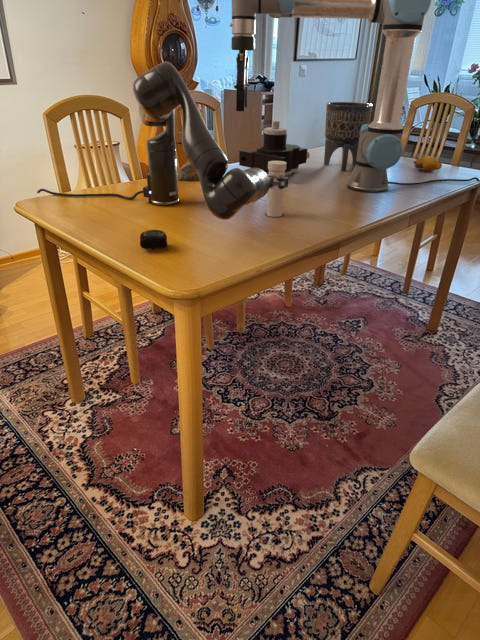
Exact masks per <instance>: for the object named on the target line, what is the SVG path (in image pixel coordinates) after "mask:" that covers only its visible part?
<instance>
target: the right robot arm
mask: <svg viewBox="0 0 480 640" xmlns="http://www.w3.org/2000/svg"><path fill="white" fill-rule="evenodd" d="M431 4H432V0H231V22H230V23H229V27H231V35H233V36H231V46H230V47H231V50H232V51H238V53H237V54H236V58H235V59H236V60H235V61H236V83H235V84H234V90H236V101H235V102H236V103H235V104H236V106H235V111H236V112H245V111H246V109H245V108H248V87H250V83H249V79H248V78H249V65H250V57H249V54H248V51H255V49H256V38H255V37H254V36H255V35H256V25H257V23H256V22H257V19H256V16H257V14H258V15H262V14H263V15H268V16H269V17H270V18H272V19H281V18H299V19H300V18H301V19H302V18H307V19H349V20H350V19H352V20H353V19H354V20H367V21H368V23H370V24H371V23H374V24H383V25H382V33H383V34H384V36H385V38H386V39H385V43H384V44H385V45H384V51H383V57H382V58H383V59H382V63H381V64H382V65H381V70H380V71H381V72H380V77H379V82H378V89H377V97H376V101H375V110H374V116H373V120H372V121H371V122H369V124H364V125H362V127H361V130H360V133H359V134H360V137H359V144H358V151H357V158H356V165H355V166H354V167H353V171H351V174H350V176H349V179H348V182H347V187H348V188H349V189H351V190H354V191H358V192H363V193H364V192H365V193H382V192H386V191H388V189H389V185H399V186H416V185H423V184H425V185H426V184H428V183H436V182H470V181H473V180H476V181H477V182H480V179H479V178H478V177H477V176H473V177H471V178H466V179H464V178H463V179H461V178H460V179H459V178H443V179H430V180H424V181H419V182H397V181H389V178H388V173H387V172H388V171H387V169H390V168H392V167H394V166H395V165H396V164H397V163H399V161H400V159H401V158H402V155H403V152H404V149H403V148H404V147H403V141H402V139H403V138H402V137H403V132H404V126H403V124H402V123H401V117H402V112H403V107H404V101H405V97H406V96H405V95H406V90H407V84H408V79H409V73H410V67H411V62H412V59H413V51H414V45H415V41H416V38H417V37H418V36H419V35H420V34H421V33H422V32H423V31H422V30H423V25H424V20H425V16H426V14H427V13H428V12H429V9H430V7H431Z"/></svg>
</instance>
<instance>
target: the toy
mask: <svg viewBox="0 0 480 640" xmlns="http://www.w3.org/2000/svg"><path fill="white" fill-rule="evenodd" d="M413 164H414V167H415V168H417V169H422V170H424V171H426V172H434V171H437V170H440V169H441V168H443V164H442V162H438V161H437V159H436V158H435V157H433V156H424V157H419V158H417V159H416V161H414V160H413Z"/></svg>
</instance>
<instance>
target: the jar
mask: <svg viewBox="0 0 480 640" xmlns="http://www.w3.org/2000/svg"><path fill="white" fill-rule="evenodd" d="M270 174H273V175H276V176H279V175H282V177H284V175H285V170H284V171H272V170H269V175H270ZM269 178H270V177H269ZM276 181H277V179H276ZM284 189H285V188H284ZM284 189H279V188H278V186H277V187H276V188H275V189H269V190H268V192H267V202H266V216H268V217H271V218H279V217H282V216H283V205H284Z"/></svg>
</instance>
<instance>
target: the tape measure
mask: <svg viewBox="0 0 480 640" xmlns="http://www.w3.org/2000/svg"><path fill="white" fill-rule="evenodd" d="M167 236H168V235H167V234H166V232H165V231H164V230H161V229H147V230H144V231H143V232H141V233H140V235H139V240H140V241H139V245H140V246H139V247H141V248H142V249H146V250H157V249H167V248H168V240H167V239H168V237H167Z"/></svg>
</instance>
